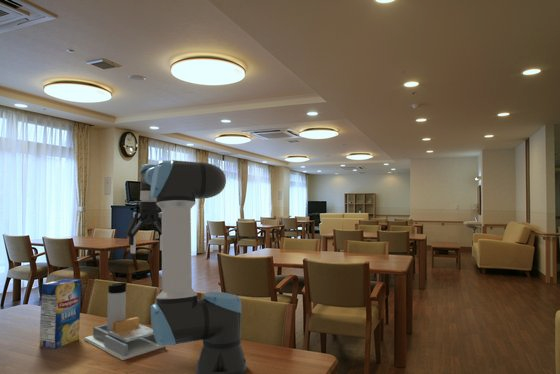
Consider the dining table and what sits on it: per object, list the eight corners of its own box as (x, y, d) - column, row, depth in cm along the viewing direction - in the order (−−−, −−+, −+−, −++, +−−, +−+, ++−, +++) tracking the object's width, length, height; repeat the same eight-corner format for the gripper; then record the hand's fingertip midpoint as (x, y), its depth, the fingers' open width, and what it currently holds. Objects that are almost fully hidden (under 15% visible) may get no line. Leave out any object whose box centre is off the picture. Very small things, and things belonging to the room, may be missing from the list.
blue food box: (39, 346, 135) (41, 283, 136) (64, 336, 146) (66, 278, 147) (54, 349, 133) (56, 285, 134) (79, 338, 144) (81, 279, 145)
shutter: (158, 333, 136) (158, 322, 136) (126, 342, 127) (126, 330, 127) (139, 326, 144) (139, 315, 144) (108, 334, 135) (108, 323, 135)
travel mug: (118, 340, 140) (120, 284, 141) (102, 338, 141) (104, 283, 142) (129, 334, 146) (130, 281, 147) (113, 333, 147) (115, 280, 148)
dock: (165, 346, 137) (165, 333, 137) (122, 360, 124) (122, 346, 124) (125, 329, 154) (125, 318, 155) (84, 340, 142) (84, 327, 142)
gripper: (169, 201, 174) (168, 248, 173) (116, 200, 155) (114, 253, 154) (179, 201, 169) (178, 249, 168) (125, 200, 150) (124, 255, 149)
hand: (148, 251), depth 161 cm, fingers open, 13 cm apart
